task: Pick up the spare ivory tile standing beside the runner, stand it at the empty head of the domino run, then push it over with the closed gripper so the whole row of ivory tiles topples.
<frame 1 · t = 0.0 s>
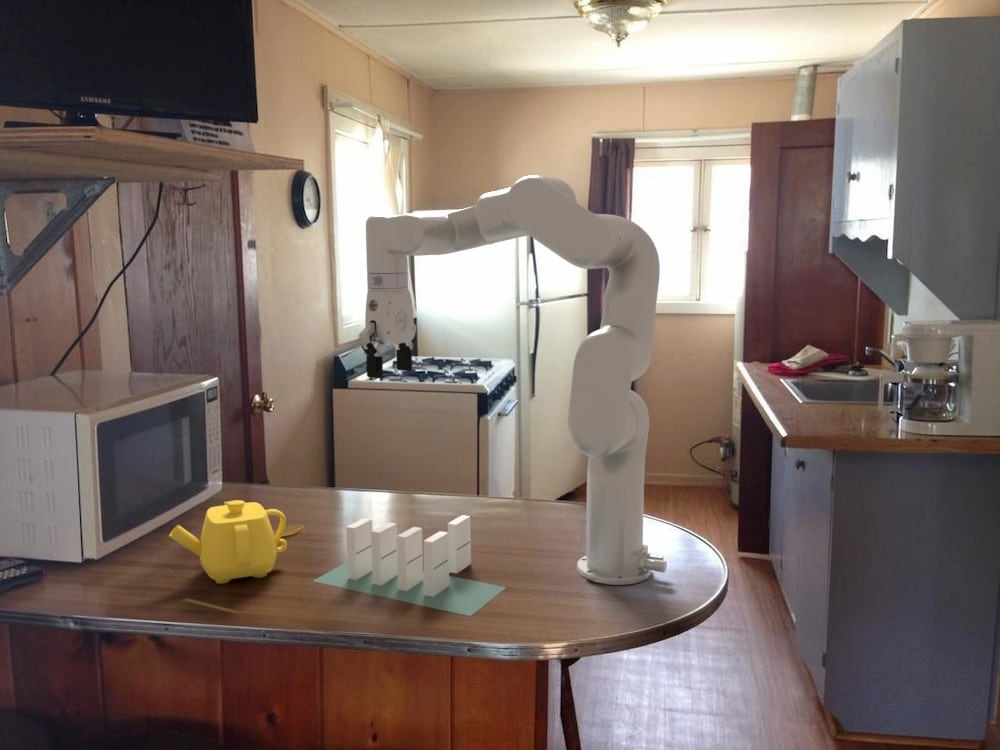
hand: (390, 373, 162), 31 cm above the counter, fingers open, 9 cm apart
domino 4: (385, 579, 142), resting on runner mat
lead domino: (459, 570, 147), on the counter
teapot: (231, 575, 146), on the counter
runner mat: (408, 586, 140), on the counter
domino 3: (410, 584, 140), resting on runner mat
domino 2: (437, 590, 138), resting on runner mat
domino 5: (360, 574, 145), resting on runner mat
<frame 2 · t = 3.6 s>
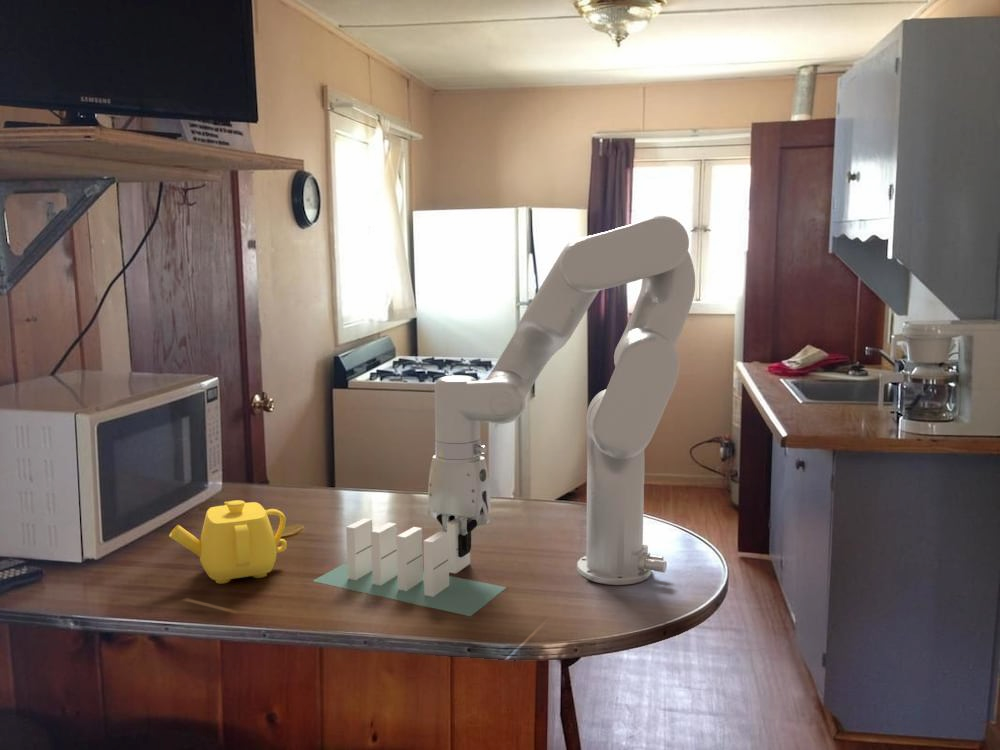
hand: (458, 553, 147), 3 cm above the counter, fingers closed on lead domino, 1 cm apart
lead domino: (459, 569, 147), on the counter, touching gripper
everything else where it was.
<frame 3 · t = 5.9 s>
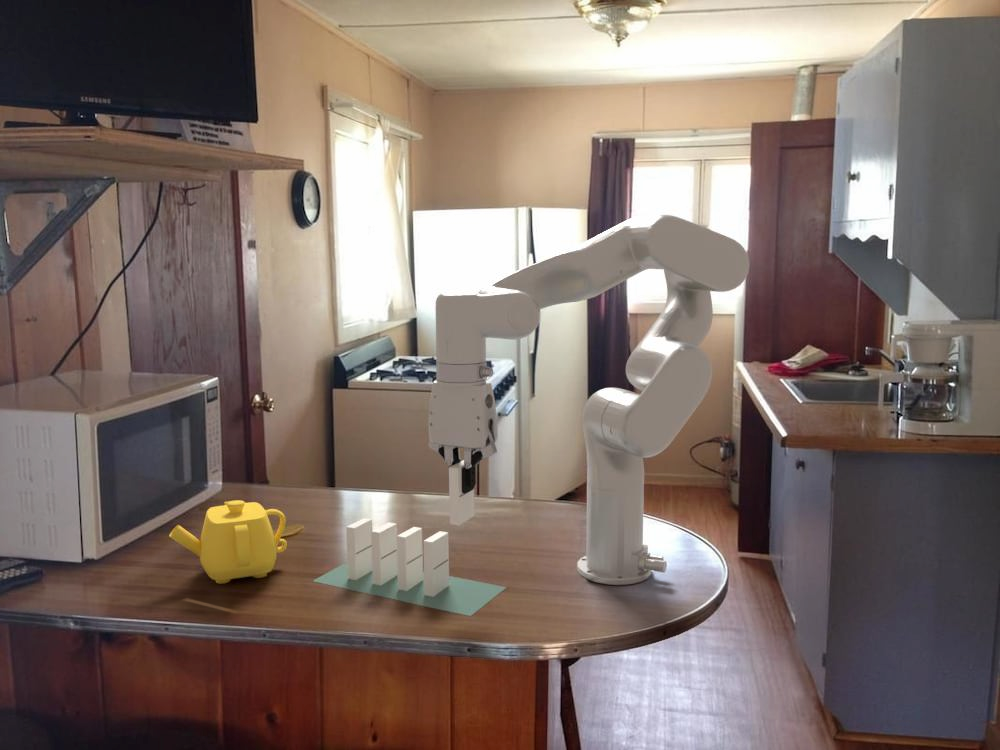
hand: (462, 489, 133), 18 cm above the counter, fingers closed on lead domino, 1 cm apart
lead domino: (462, 519, 133), point 13 cm above the counter, touching gripper
everything else where it was.
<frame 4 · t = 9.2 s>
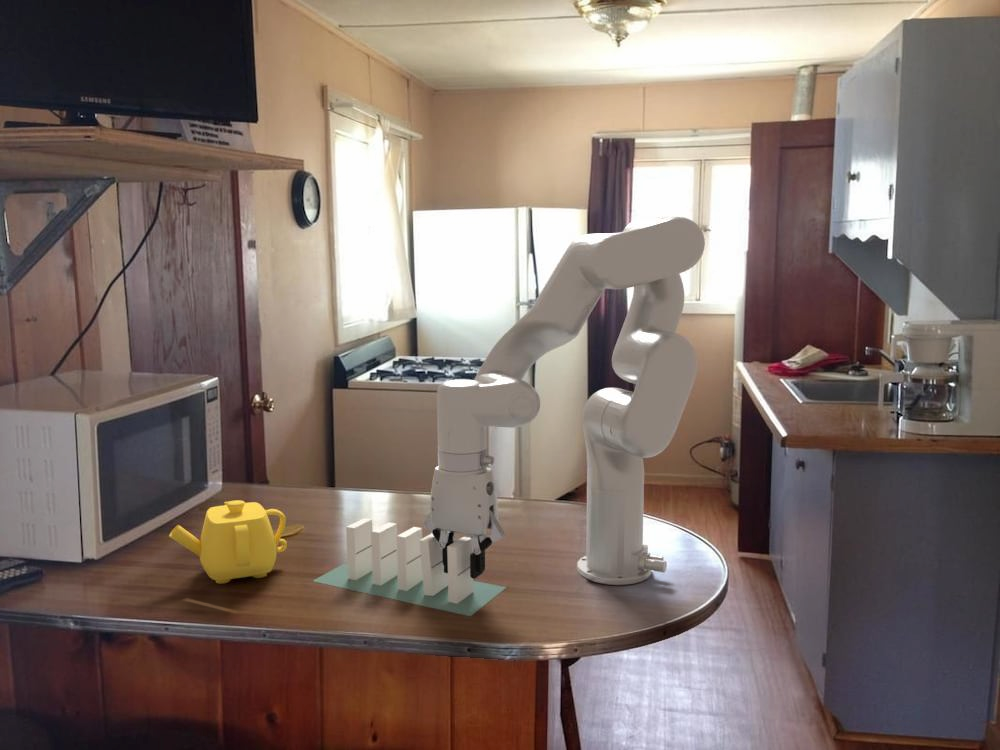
hand: (463, 571, 135), 4 cm above the counter, fingers open, 4 cm apart
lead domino: (461, 596, 135), resting on runner mat
domino 2: (437, 589, 138), resting on runner mat, touching gripper
everything else where it was.
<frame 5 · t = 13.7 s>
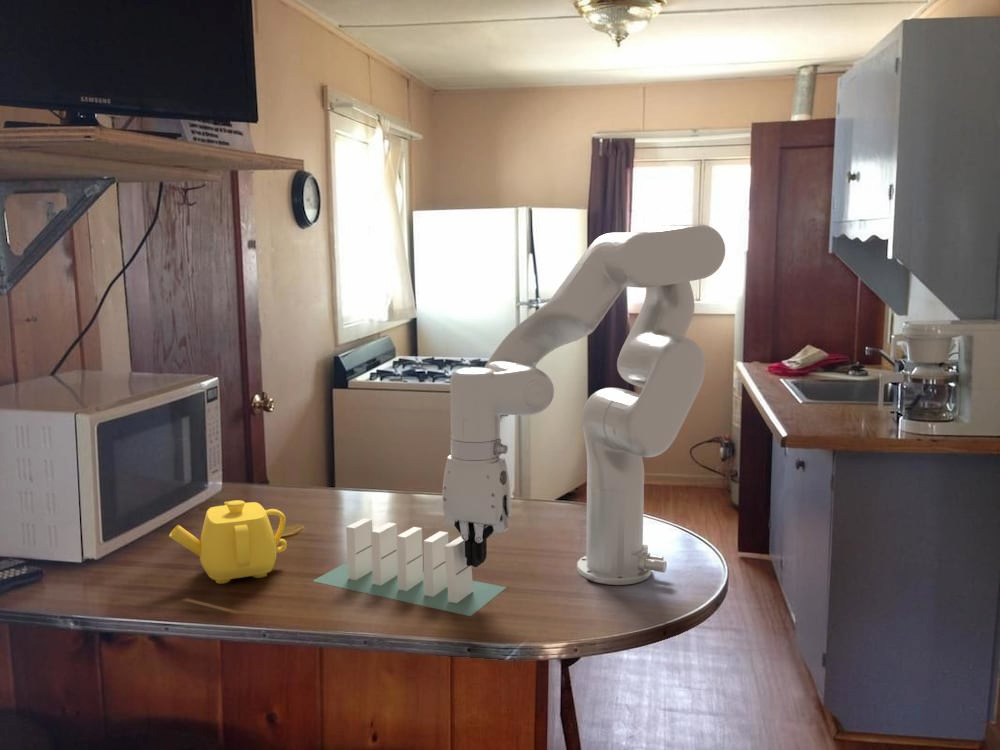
hand: (475, 563, 133), 6 cm above the counter, fingers closed
domino 2: (437, 590, 138), resting on runner mat
everything else where it was.
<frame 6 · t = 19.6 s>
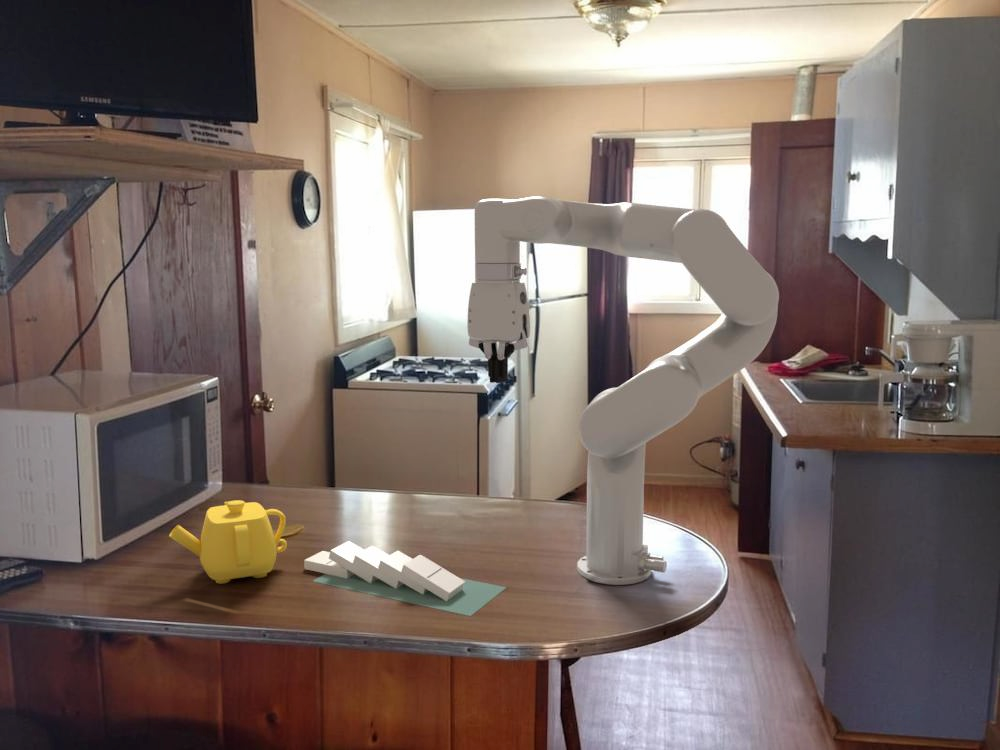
hand: (498, 381, 147), 32 cm above the counter, fingers closed
domino 4: (380, 573, 143), point 1 cm above the counter, tilted 71°, touching domino 3, domino 5, runner mat
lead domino: (456, 591, 135), point 1 cm above the counter, tilted 70°, touching domino 2, runner mat
domino 3: (405, 579, 140), point 1 cm above the counter, tilted 71°, touching domino 2, domino 4, runner mat
domino 2: (432, 584, 138), point 1 cm above the counter, tilted 72°, touching domino 3, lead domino, runner mat
domino 5: (355, 568, 145), point 1 cm above the counter, tilted 90°, touching domino 4, runner mat
everything else where it was.
at the end: domino 5 tilted 90°; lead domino tilted 70°; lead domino inside the target area (2.8 cm from its centre), point 1.2 cm above the counter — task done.
